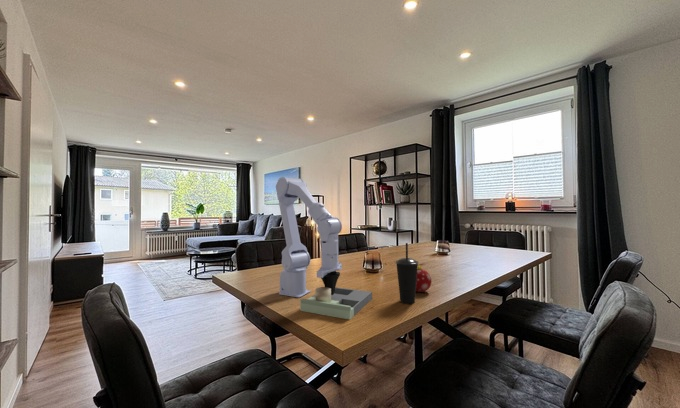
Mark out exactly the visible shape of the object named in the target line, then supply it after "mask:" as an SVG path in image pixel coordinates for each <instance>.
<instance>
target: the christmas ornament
mask: <svg viewBox="0 0 680 408" xmlns="http://www.w3.org/2000/svg"><path fill="white" fill-rule="evenodd" d="M431 286H432V277H431V275H430V273H429V272H428V271H426V270H425V269H422V266H421V265H419V264H418V266H417V280H416V292H417V293H424V292H426V291H428V290H429V289H430V288H431Z"/></svg>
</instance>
